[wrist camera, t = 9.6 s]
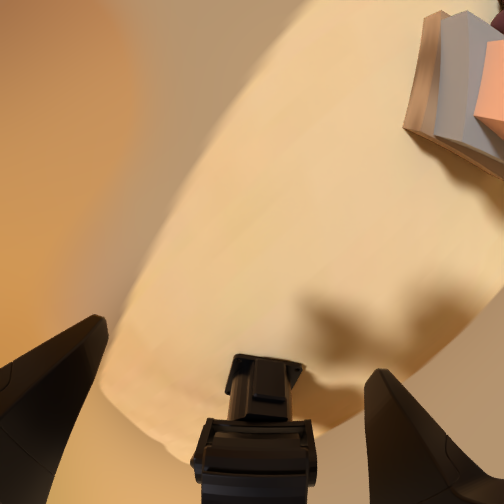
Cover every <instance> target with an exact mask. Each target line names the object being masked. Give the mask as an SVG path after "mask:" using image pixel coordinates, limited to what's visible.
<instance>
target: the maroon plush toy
mask: <svg viewBox="0 0 504 504" xmlns="http://www.w3.org/2000/svg"><path fill="white" fill-rule="evenodd" d="M502 1H503V4H504V0H502ZM491 26H492V27H493V28H495V29H496V30H497V31H499V32H500V33H502V34H503V35H504V10H502V11H501V12H500V13H498V14H497V15H496V17H495V18H494V19H493V21H492V22H491Z"/></svg>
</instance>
